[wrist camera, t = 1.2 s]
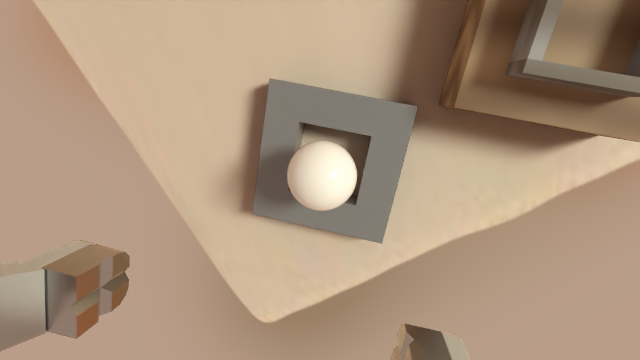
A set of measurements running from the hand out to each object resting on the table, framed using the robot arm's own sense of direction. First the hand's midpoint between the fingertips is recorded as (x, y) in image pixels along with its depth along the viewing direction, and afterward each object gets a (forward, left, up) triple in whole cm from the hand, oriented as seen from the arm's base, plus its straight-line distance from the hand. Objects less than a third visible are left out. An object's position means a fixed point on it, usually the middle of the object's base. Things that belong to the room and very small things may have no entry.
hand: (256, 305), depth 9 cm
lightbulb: (+1, -1, -28) cm, 28 cm away
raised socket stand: (-15, +17, -28) cm, 36 cm away
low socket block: (+1, -1, -28) cm, 28 cm away
